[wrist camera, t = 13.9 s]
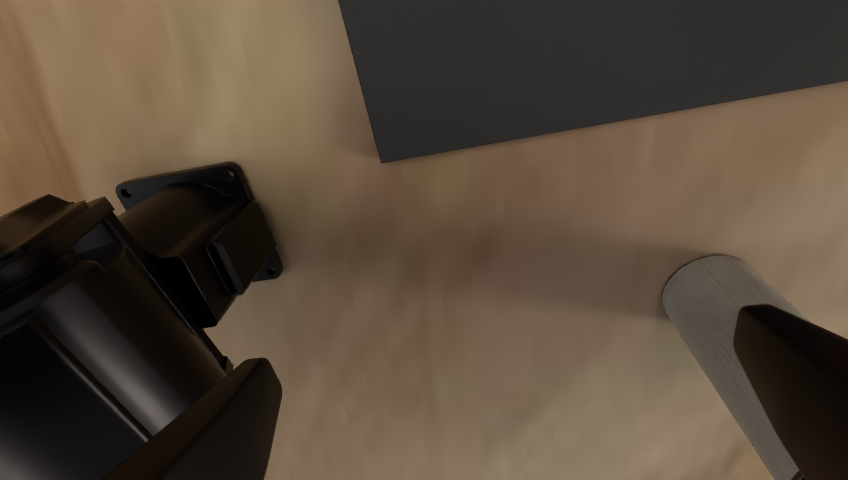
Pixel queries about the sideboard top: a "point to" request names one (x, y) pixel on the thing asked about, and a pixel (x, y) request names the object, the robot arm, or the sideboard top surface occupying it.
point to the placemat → (575, 62)
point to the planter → (728, 342)
